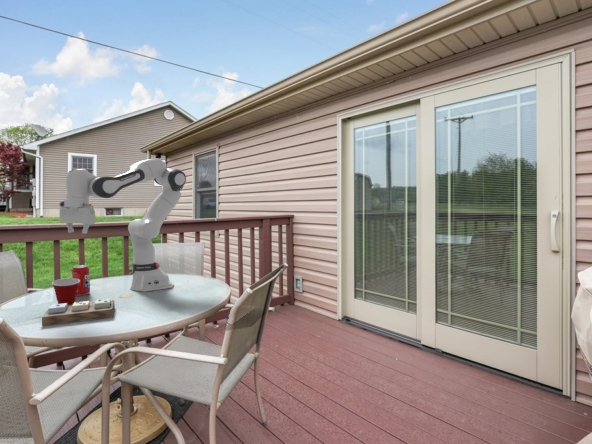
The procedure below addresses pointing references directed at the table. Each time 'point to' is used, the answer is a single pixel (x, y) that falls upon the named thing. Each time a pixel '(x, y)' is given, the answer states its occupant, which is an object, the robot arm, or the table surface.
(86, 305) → the tile three dots
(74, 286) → the plastic cup
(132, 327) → the table surface
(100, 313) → the keypad board
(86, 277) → the soda can
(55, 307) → the tile one dot
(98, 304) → the tile two dots
